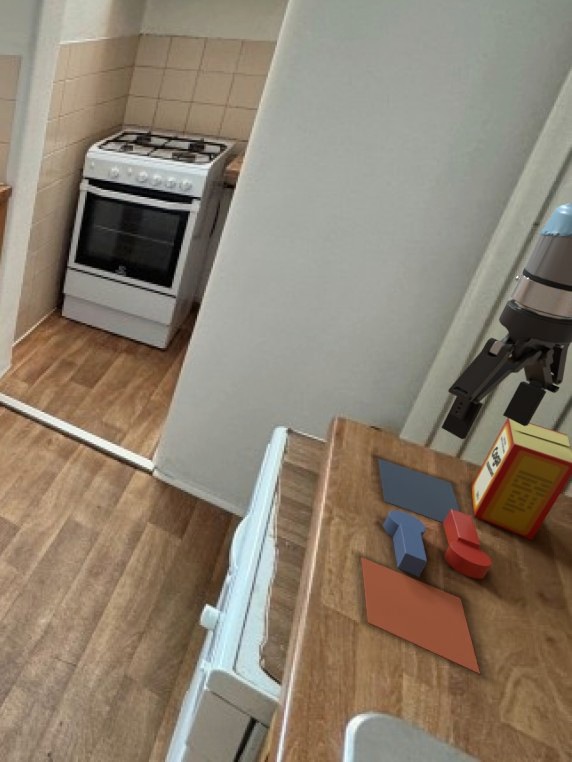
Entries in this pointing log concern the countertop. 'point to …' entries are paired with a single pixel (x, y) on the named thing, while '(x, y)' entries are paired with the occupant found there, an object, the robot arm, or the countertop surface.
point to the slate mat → (417, 491)
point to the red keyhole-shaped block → (464, 546)
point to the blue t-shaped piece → (407, 541)
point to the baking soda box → (522, 477)
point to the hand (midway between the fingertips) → (484, 426)
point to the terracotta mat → (418, 614)
